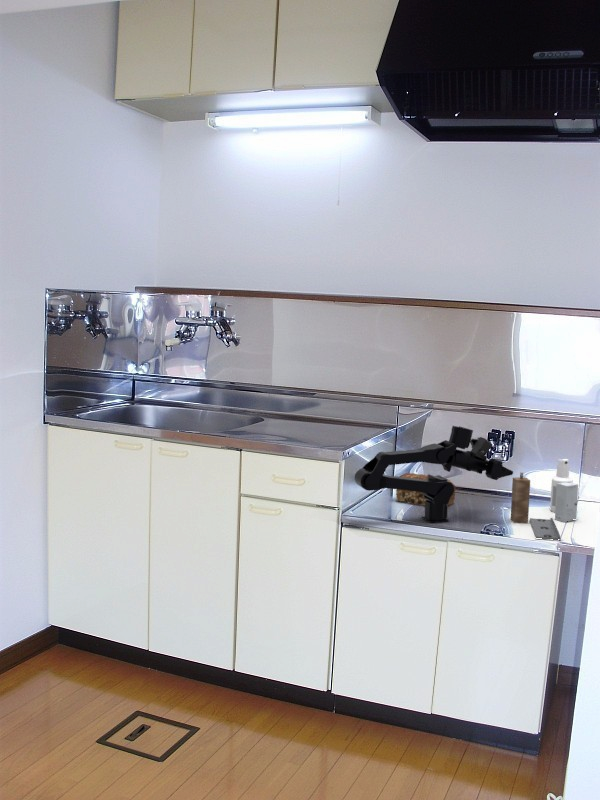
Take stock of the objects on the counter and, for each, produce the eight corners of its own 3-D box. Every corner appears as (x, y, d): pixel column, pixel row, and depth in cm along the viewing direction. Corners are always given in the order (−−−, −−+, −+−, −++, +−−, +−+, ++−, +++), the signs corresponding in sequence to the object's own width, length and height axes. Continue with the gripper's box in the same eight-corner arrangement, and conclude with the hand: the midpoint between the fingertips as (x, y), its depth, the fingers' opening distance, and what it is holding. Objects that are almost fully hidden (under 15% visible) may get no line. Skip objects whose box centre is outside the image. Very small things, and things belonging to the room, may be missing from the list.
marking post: (514, 522, 267) (517, 474, 265) (510, 519, 272) (513, 471, 270) (527, 523, 267) (530, 474, 265) (523, 519, 272) (526, 471, 270)
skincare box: (564, 522, 269) (567, 485, 267) (553, 519, 273) (555, 483, 271) (577, 520, 272) (579, 484, 271) (566, 517, 276) (568, 481, 275)
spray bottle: (557, 514, 280) (560, 461, 278) (546, 509, 286) (549, 457, 284) (575, 513, 282) (578, 461, 279) (563, 508, 288) (566, 457, 286)
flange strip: (560, 540, 248) (560, 536, 247) (535, 539, 249) (536, 534, 249) (552, 522, 269) (552, 517, 269) (529, 520, 270) (530, 516, 270)
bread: (394, 502, 292) (395, 474, 291) (407, 496, 301) (408, 469, 300) (444, 510, 283) (446, 481, 282) (456, 504, 292) (457, 476, 291)
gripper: (484, 440, 259) (527, 451, 264) (457, 431, 277) (498, 441, 282) (475, 475, 260) (517, 485, 264) (449, 463, 278) (489, 473, 282)
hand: (505, 470), depth 273 cm, fingers open, 9 cm apart
